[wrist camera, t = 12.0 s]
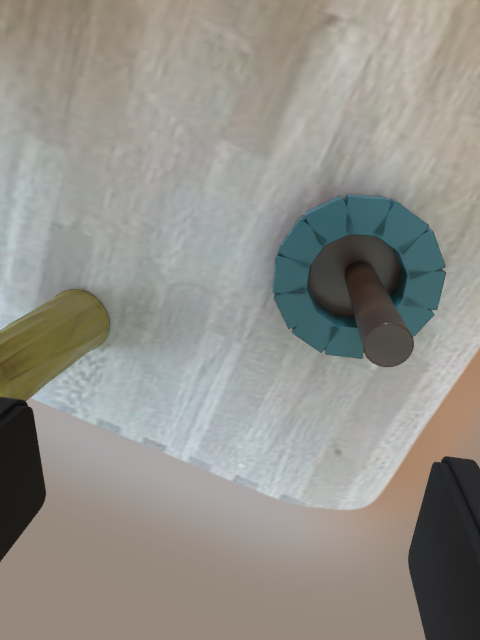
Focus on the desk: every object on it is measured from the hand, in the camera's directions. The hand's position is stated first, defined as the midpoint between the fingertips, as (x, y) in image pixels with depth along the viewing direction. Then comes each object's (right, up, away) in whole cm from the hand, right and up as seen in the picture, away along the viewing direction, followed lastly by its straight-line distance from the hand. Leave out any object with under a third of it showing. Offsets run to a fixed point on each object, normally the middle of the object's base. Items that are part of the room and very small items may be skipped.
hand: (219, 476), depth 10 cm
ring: (+10, +7, +24) cm, 27 cm away
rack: (+10, +7, +25) cm, 28 cm away
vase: (-15, +4, +31) cm, 34 cm away
